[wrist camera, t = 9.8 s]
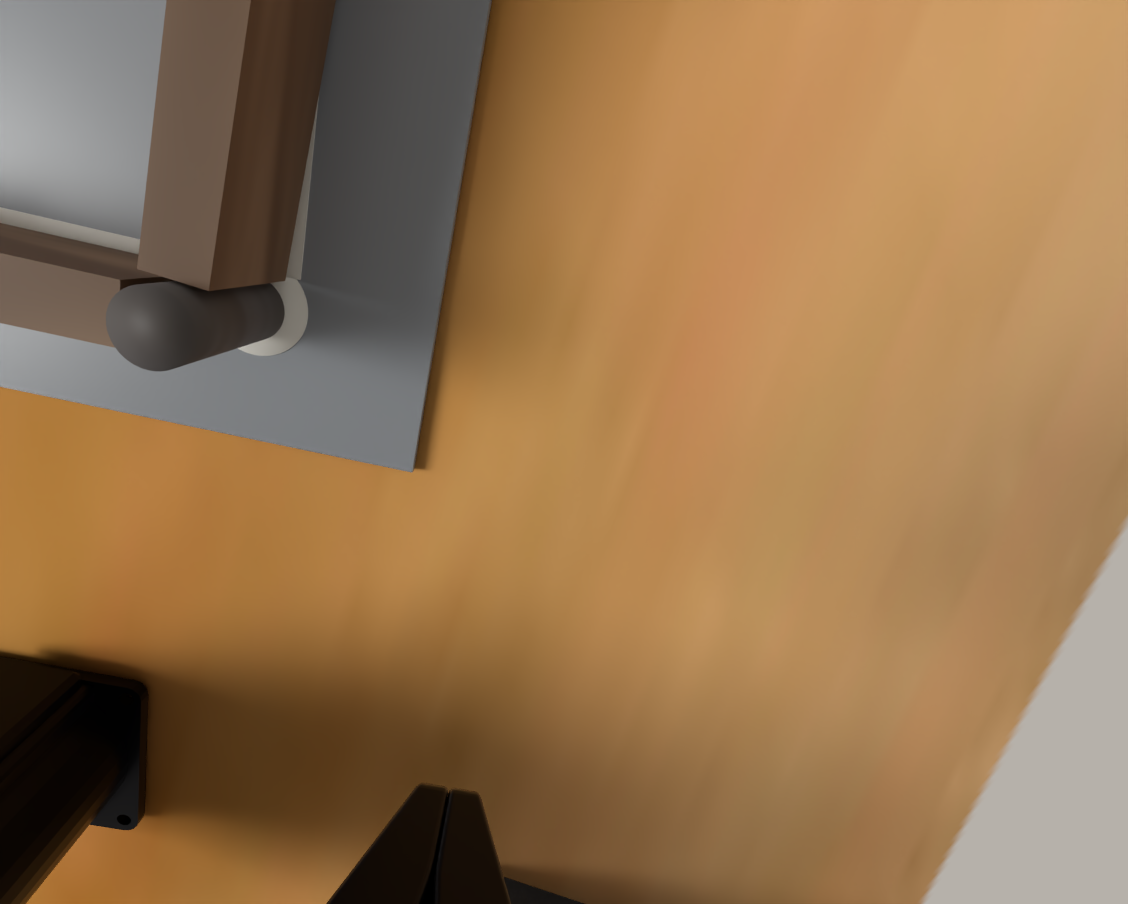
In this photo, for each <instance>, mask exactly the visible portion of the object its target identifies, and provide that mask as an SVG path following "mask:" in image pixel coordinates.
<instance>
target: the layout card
mask: <svg viewBox="0 0 1128 904" xmlns="http://www.w3.org/2000/svg"><path fill="white" fill-rule="evenodd" d="M491 3H492V0H336V3H335V8H334V14H333V19H332V25H331V30H330V36H329V41H328V47H327V52H326V58H325V63H324V69H323V74H322V80H321V86H320V91H319V97H318V102H317V108H316V113H315V119H314V124H313V130H312V135H311V141H310V146H309V152H308V157H307V163H306V169H305V174H304V180H303V185H302V191H301V196H300V202H299V207H298V213H297V218H296V224H295V229H294V235H293V240H292V246H291V252H290V257H289V263H288V268H287V274H286V279H285V281H282V282H274V283H271V284H272V285H273V286H274V287H275V288H276V290H277V291H278V293H279V294H280V296H281V298H282V301H283V304H284V310H285V315H284V321H283V324H282V326H281V328H280V329H279V330H278V332H277V333H276V334H274V335H273V336H271V337H270V338H267V339H265V340H262V341H258V342H255V343H252V344H249V345H246V346H243V347H240V348H237V349H234V350H231V351H227V352H224V353H221V354H218V355H215V356H212V357H209V358H206V359H203V360H200V361H196V362H193V363H190V364H187V365H184V366H181V367H178V368H175V369H172V370H168V371H161V372H159V371H149V370H145V369H142V368H140V367H138V366H136V365H134V364H132V363H131V362H129V361H128V360H126V359H125V358H124V357H123V356H122V355H121V354H120V353H119V352H118V351H117V349H116V348H114V347H109V346H104V345H100V344H95V343H90V342H86V341H81V340H76V339H72V338H67V337H63V336H58V335H53V334H49V333H44V332H39V331H35V330H30V329H26V328H21V327H16V326H12V325H7V324H2V323H0V387H5V388H9V389H14V390H19V391H24V392H29V393H33V394H38V395H43V396H48V397H53V398H57V399H62V400H67V401H72V402H77V403H81V404H86V405H91V406H96V407H101V408H105V409H110V410H115V411H120V412H125V413H129V414H134V415H139V416H144V417H149V418H153V419H158V420H163V421H168V422H173V423H177V424H182V425H187V426H192V427H197V428H201V429H206V430H211V431H216V432H221V433H225V434H230V435H235V436H240V437H245V438H249V439H254V440H259V441H264V442H269V443H273V444H278V445H283V446H288V447H293V448H297V449H302V450H307V451H312V452H317V453H321V454H326V455H331V456H336V457H341V458H345V459H350V460H355V461H360V462H365V463H369V464H374V465H379V466H384V467H389V468H394V469H398V470H403V471H408V472H413V470H414V467H415V461H416V455H417V449H418V443H419V437H420V431H421V425H422V419H423V413H424V407H425V401H426V395H427V389H428V383H429V377H430V371H431V365H432V359H433V353H434V347H435V341H436V335H437V328H438V322H439V316H440V310H441V304H442V298H443V292H444V286H445V280H446V274H447V268H448V262H449V256H450V250H451V244H452V238H453V232H454V226H455V220H456V214H457V208H458V202H459V196H460V190H461V184H462V178H463V172H464V166H465V160H466V154H467V147H468V141H469V135H470V129H471V123H472V117H473V111H474V105H475V99H476V93H477V87H478V81H479V75H480V69H481V63H482V57H483V51H484V45H485V39H486V33H487V27H488V21H489V15H490V9H491ZM165 9H166V0H0V223H3V224H8V225H12V226H16V227H21V228H25V229H29V230H34V231H38V232H43V233H47V234H51V235H56V236H60V237H65V238H69V239H73V240H78V241H82V242H86V243H91V244H95V245H100V246H104V247H108V248H113V249H117V250H122V251H126V252H130V253H135V254H139V245H140V236H141V227H142V218H143V209H144V200H145V191H146V182H147V173H148V163H149V154H150V145H151V136H152V127H153V118H154V109H155V100H156V91H157V82H158V73H159V63H160V54H161V45H162V36H163V27H164V18H165Z"/></svg>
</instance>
